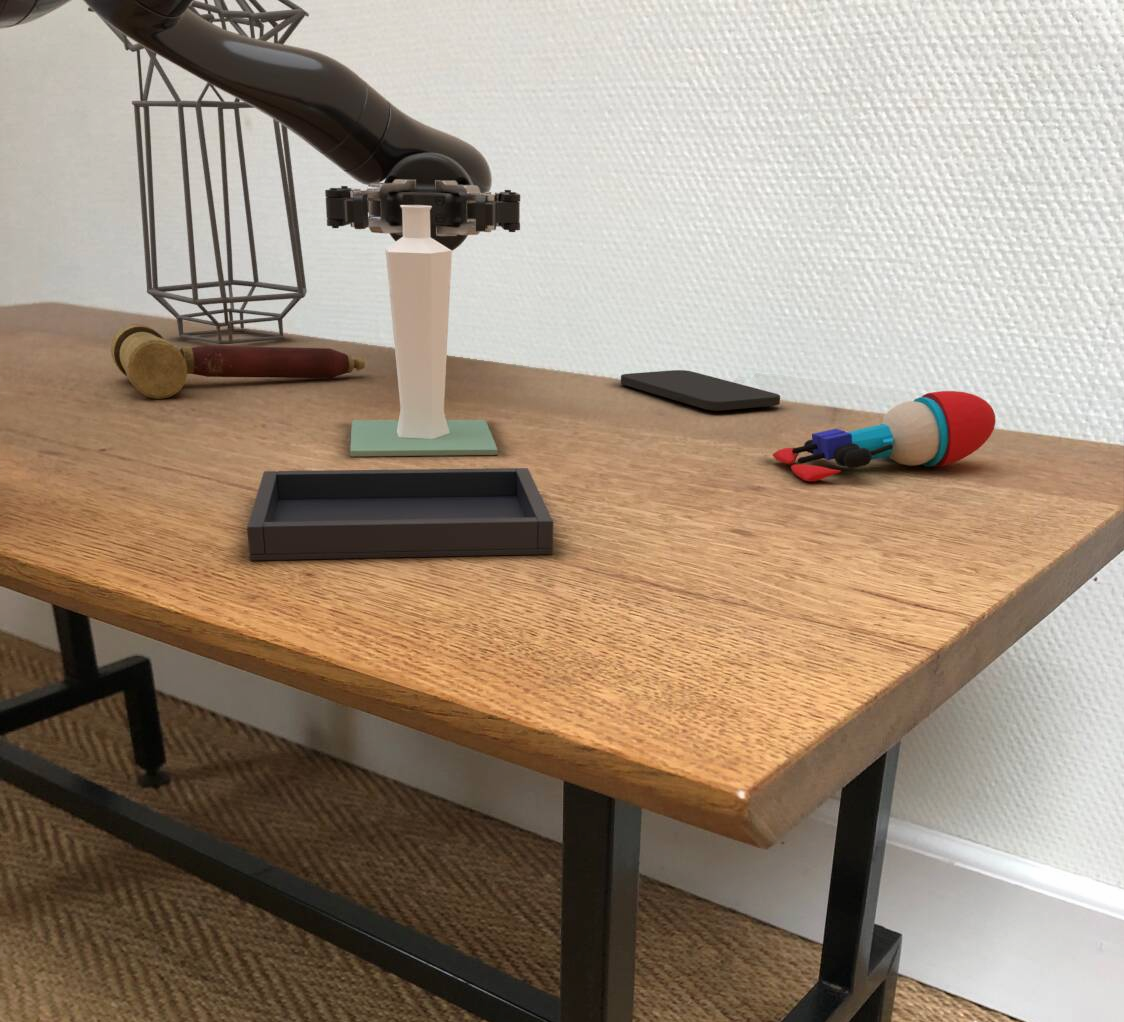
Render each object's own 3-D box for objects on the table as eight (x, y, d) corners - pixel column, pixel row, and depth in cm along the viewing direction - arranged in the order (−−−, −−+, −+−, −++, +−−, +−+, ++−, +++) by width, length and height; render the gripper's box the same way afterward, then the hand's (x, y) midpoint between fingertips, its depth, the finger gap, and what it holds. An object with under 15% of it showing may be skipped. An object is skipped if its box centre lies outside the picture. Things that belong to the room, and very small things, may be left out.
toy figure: (813, 509, 81) (1022, 460, 83) (806, 432, 79) (1021, 385, 82) (767, 489, 88) (962, 445, 90) (760, 418, 86) (960, 374, 88)
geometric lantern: (337, 341, 131) (315, -56, 116) (204, 357, 121) (161, -77, 105) (250, 325, 141) (219, -43, 125) (121, 338, 130) (69, -62, 115)
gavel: (349, 329, 116) (383, 345, 108) (348, 380, 118) (382, 400, 110) (108, 322, 107) (126, 339, 99) (112, 378, 109) (129, 398, 101)
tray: (249, 560, 64) (246, 526, 64) (266, 501, 75) (263, 470, 74) (552, 554, 66) (553, 521, 66) (527, 497, 77) (528, 467, 76)
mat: (350, 456, 85) (350, 450, 85) (352, 425, 94) (351, 420, 94) (497, 455, 87) (497, 449, 86) (485, 424, 95) (485, 419, 95)
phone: (685, 369, 115) (787, 396, 103) (684, 378, 115) (786, 406, 103) (615, 374, 112) (712, 402, 100) (614, 384, 112) (711, 413, 100)
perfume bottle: (374, 432, 90) (365, 204, 84) (421, 424, 93) (415, 203, 87) (416, 443, 87) (409, 208, 81) (463, 434, 90) (460, 206, 84)
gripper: (340, 150, 101) (313, 151, 86) (518, 154, 102) (522, 157, 87) (345, 251, 104) (320, 268, 90) (517, 254, 105) (521, 272, 90)
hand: (419, 213), depth 88 cm, fingers open, 8 cm apart
